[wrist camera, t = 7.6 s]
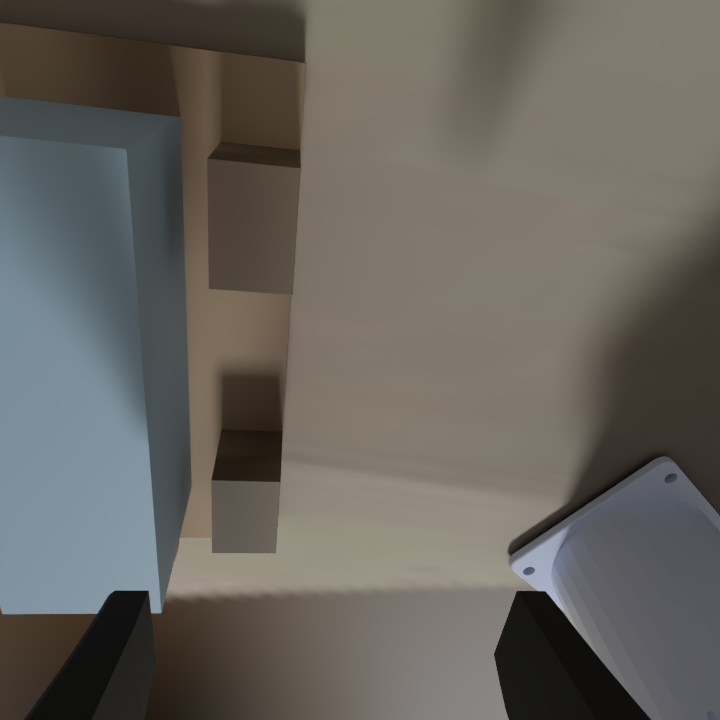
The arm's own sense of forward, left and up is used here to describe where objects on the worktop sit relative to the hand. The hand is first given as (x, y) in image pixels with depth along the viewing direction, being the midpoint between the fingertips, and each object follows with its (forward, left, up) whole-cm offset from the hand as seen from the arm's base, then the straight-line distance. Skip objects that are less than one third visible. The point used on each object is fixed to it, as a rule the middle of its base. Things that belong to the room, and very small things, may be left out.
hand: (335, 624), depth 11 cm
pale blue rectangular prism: (+6, +2, -8) cm, 10 cm away
